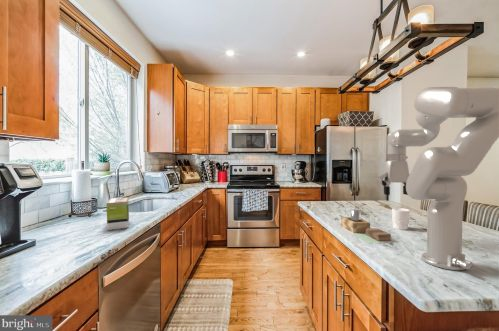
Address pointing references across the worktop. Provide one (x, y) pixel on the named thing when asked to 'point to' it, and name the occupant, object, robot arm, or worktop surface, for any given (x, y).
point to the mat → (371, 239)
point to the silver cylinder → (355, 215)
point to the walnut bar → (378, 234)
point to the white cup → (400, 218)
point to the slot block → (355, 225)
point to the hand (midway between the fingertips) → (396, 194)
